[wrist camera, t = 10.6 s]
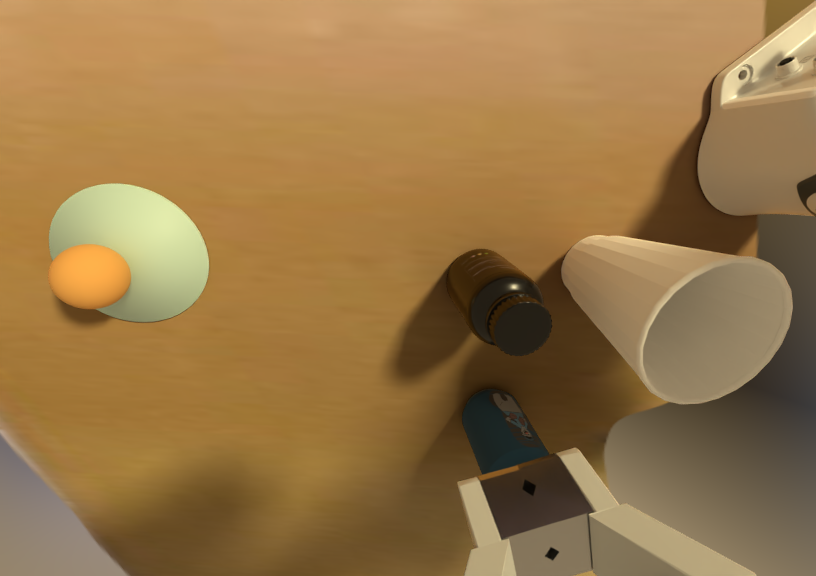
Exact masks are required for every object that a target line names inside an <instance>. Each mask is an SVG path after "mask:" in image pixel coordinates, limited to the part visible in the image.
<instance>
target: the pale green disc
mask: <svg viewBox="0 0 816 576" xmlns="http://www.w3.org/2000/svg"><path fill="white" fill-rule="evenodd" d="M83 244H96V245H101V246H105V247H107V248H110V249H112V250H114V251H115V252H117V253H118V254H120V255H121V256H122V257H123V258H124V259H125V261H126V262H127V264H128V266H129V268H130V272H131V283H130V286H129V288H128V291H127V292H126V294H125V295H124V296H123V297H122V298H121V299H120V300H118V301H117V302H115V303H114V304H112V305H109V306H107V307H103V308H99V309H96V310H98V311H100V312H102V313H104V314H107V315H109V316H112V317H115V318H118V319H122V320H127V321H133V322H154V321H160V320H164V319H168V318H171V317H173V316H176V315H178V314H180V313H181V312H183V311H185V310H186V309H187V308H189V307H190V306H191V305H192V304H193V303H194V302H195V301H196V300H197V299H198V298H199V296H200V295H201V293H202V292H203V290H204V287H205V285H206V282H207V279H208V274H209V257H208V251H207V248H206V245H205V242H204V239H203V237H202V235H201V233H200V231H199V230H198V228H197V227H196V225H195V224H194V222H193V221H192V220H191V219H190V218H189V216H188V215H187V214H186V213H185V212H184V211H183V210H181V209H180V208H179V207H178V206H177V205H175V204H174V203H173V202H171V201H170V200H168V199H166V198H165V197H163V196H161V195H159V194H157V193H155V192H153V191H151V190H148V189H145V188H142V187H138V186H134V185H128V184H102V185H96V186H93V187H89V188H86V189H84V190H82V191H79V192H77V193H76V194H74V195H73V196H71V197H70V198H68V199H67V200H66V201H65V202H64V203H63V204H62V205H61V207H60V208H59V209H58V210H57V212H56V214H55V216H54V218H53V220H52V223H51V227H50V232H49V248H50V253H51V257H52V260H54V259H55V258H56V257H57V256H58V255H59V254H60V253H61V252H63V251H64V250H66V249H68V248H71V247H73V246H77V245H83Z"/></svg>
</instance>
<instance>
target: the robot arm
mask: <svg viewBox="0 0 816 576" xmlns="http://www.w3.org/2000/svg"><path fill="white" fill-rule="evenodd" d="M739 73H740V77H739V78H738V76H739ZM698 177H699V182H700V186H701V189H702V191H703V193H704V195H705V197H706V198H707V200H708V201H709V202H710V203H711V204H712V205H713V206H714V207H715V208H717V209H718V210H720V211H722V212H724V213H726V214H730V215H736V216H745V215H757V214H793V215H808V216H816V0H815V1H814V2H813V3H812V4H810V5H809V6H808V7H806V8H805V9H804V10H802V11H801V12H800V13H798V14H797V15H796V16H794V17H793V18H792V19H790V20H789V21H788V22H786V23H785V24H784V25H782V26H781V27H780V28H778V29H777V30H776V31H774V32H773V33H772V34H770V35H769V36H768V37H766V38H765V39H764V40H762V41H761V42H760V43H758V44H757V45H756V46H755V47H753V48H752V49H751V50H749V51H748V52H747V53H745V54H744V55H743V56H741V57H740V58H739V59H737V60H736V61H735V62H733V63H732V64H731V65H729V66H728V67H727V68H725V69H724V70H723V71H721V72H720V73H719V74H718V75H717V77H716V78H715V80H714V83H713V86H712V94H711V113H710V117H709V121H708V124H707V126H706V129H705V132H704V134H703V137H702V141H701V144H700V149H699V155H698ZM457 485H458V489H459V493H460V497H461V501H462V505H463V509H464V513H465V517H466V520H467V524H468V528H469V532H470V536H471V539H472V542H473V546H474V549H471V550H470V554H469V558H468V562H467V565H466V569H465V573H464V576H573V575H577V574H581V573H584V572H588V571H592V570H593V573H595V574H596V575H597V576H757V575H756V574H755V573H754V572H752V571H750V570H748V569H746V568H745V567H743V566H741V565H739V564H737V563H735V562H733V561H732V560H730V559H728V558H726V557H724V556H722V555H720V554H719V553H717V552H715V551H713V550H711V549H709V548H707V547H706V546H704V545H702V544H700V543H698V542H696V541H695V540H693V539H691V538H689V537H687V536H685V535H683V534H682V533H680V532H678V531H676V530H674V529H672V528H671V527H669V526H667V525H665V524H663V523H661V522H660V521H658V520H656V519H654V518H652V517H650V516H648V515H647V514H645V513H643V512H641V511H639V510H637V509H635V508H634V507H632V506H630V505H628V504H626V503H624V504H621V505H619V504H618V502H617V501H616V500H615V498H614V497H613V496H612V494H611V493H610V491H609V490H608V489H607V487H606V486H605V485H604V483H603V482H602V480H601V479H600V478H599V476H598V475H597V474H596V472H595V471H594V469H593V468H592V467H591V465H590V464H589V463H588V461H587V460H586V459H585V457H584V456H583V454H582V453H581V452H580V450H578V449H577V448H572V449H568V450H565V451H562V452H558V453H555V454H554V453H553V454H550V455H547V456H544V457H540V458H537V459H534V460H531V461H528V462H524V463H521V464H518V465H516V466H514V467H510V468H506V469H502V470H498V471H495V472H491V473H487V474H483V475H479V476H478V477H477V476H476V477H473V478H469V479H465V480H462V481H458V482H457Z"/></svg>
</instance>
